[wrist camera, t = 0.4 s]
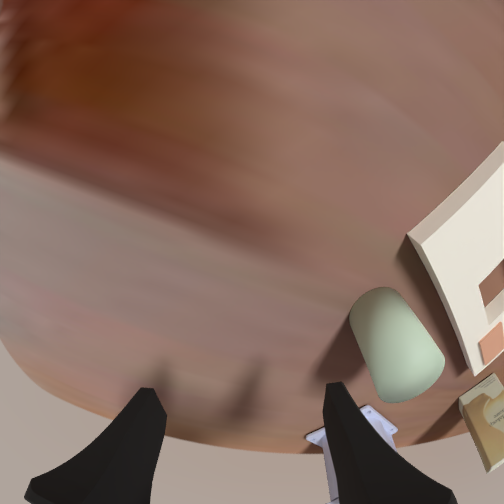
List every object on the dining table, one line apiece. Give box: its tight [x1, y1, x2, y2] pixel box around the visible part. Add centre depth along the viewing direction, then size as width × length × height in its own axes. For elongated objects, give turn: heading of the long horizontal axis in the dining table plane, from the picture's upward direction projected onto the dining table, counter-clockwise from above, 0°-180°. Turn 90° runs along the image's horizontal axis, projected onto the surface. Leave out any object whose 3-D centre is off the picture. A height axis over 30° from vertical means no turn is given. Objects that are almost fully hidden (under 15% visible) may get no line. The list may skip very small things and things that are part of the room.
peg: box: [349, 287, 445, 403], centre depth 17 cm, size 4×4×7 cm
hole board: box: [407, 141, 504, 376], centre depth 17 cm, size 20×12×2 cm, turn 42°
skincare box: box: [459, 373, 504, 473], centre depth 20 cm, size 6×4×12 cm
